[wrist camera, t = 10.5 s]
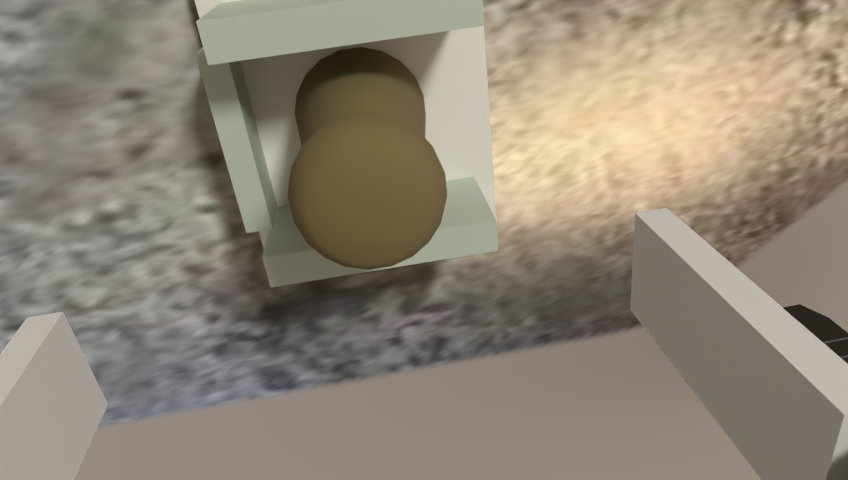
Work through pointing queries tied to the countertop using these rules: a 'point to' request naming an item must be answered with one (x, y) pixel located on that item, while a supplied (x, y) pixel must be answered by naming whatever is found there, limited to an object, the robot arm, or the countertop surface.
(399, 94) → the brown rounded knob
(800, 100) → the countertop surface
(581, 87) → the countertop surface
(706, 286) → the robot arm
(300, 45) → the holder
